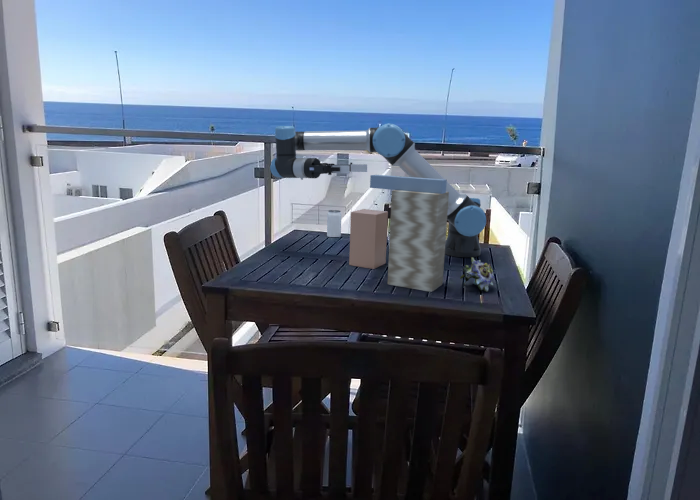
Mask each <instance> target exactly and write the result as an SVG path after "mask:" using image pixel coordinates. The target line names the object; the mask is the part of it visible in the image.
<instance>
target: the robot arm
mask: <svg viewBox="0 0 700 500" xmlns="http://www.w3.org/2000/svg"><path fill="white" fill-rule="evenodd" d="M274 131H275V133H274V138H275V154H276V157H275V158H272V160H271V161H270V166H269V168H270V172H271V174H272V175H273V176H274V177H276V178H280V179H281V178H283V179H300V180H301V181H302V180H304V179H318V178H319V177H320V176H321V175H323V174H328V176H332V174H350V172H351V173H356V172H357V173H367V172H368V164H364V163H363V164H361V163H360V164H358V163H357V164H354V163H353V162H350V164H335V163H327V162H321V161H320V159H319V158H318V157H309V158H308V157H297V151H368V152H369V153H377V154H378V155H380V156H381V157H383V158H384V159H385V160H386V161H387V162H388V163H389V164H390V166H391V167H399V168H400V169H401V170H402V171H403V172H404V173H405V174H406V175H407V177H417V178H431V179H445V178H444V176H442V175H441V174H440V173H439V171H438V170H436V169H435V168H434V167H433V166H432V165H431V164H430V163H429V162H428V161H427V160H426V159H425V158H424V156H422V155H421V154H420V153H419V152H418V151H417V150H416V146H415V145H416V143H415V142H414V141H413V140H412V139H411V138H410V137H409V136H408V135H407V133H405V132H404V131H403V129H402V128H401V127H399V126H398V125H397V124H394V123H384V124H382V125H380V126H378V127H368V129H366V130H314V131H313V130H312V131H311V130H309V131H308V130H307V131H305V130H304V131H296V128H295V126H292V125H286V126H285V125H284V126H283V125H282V126H280V125H279V126H276V127H275V130H274ZM446 192H449V199H448V213H447V222H448V223H449V224H448V235H447V236H446V241H445V255H447V256H449V257H456V258H472V257H473V258H477V257H480V256H481V253H482V252H481V251H482V249H481V245H480V241H479V237H478V236H479V234H480V233H482V232H483V230H484V229H485V227H486V225H487V215H486V212H485V211H484V209H482V208H481V199H480V198H475V197H469V195H468V194H466V193H465V194H464V193H459V192H458V191H457V189H455V187H453V186H452V185H451V183H449V182H448V181H447V184H446Z"/></svg>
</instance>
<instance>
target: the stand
mask: <svg viewBox="0 0 700 500" xmlns="http://www.w3.org/2000/svg"><path fill="white" fill-rule="evenodd" d="M448 199H449V192H446V193H443V194H438V193H426V192H414V191H402V190H391V199H390V200H391V203H390V204H391V205H390V224H389V225H390V227H389V245H388V263H387V267H388V268H387V269H388V270H387V285H390V286H396V287H402V288H406V289H413V290H419V291H424V292H431V293H432V292H434V291H436V290H437V289H438V288H439V287H441V286H442V285H443V281H444V270H445V269H444V266H445V256H446V254H445V242H446V239H447V226H448V223H447V222H448V220H447V213H448Z"/></svg>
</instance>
